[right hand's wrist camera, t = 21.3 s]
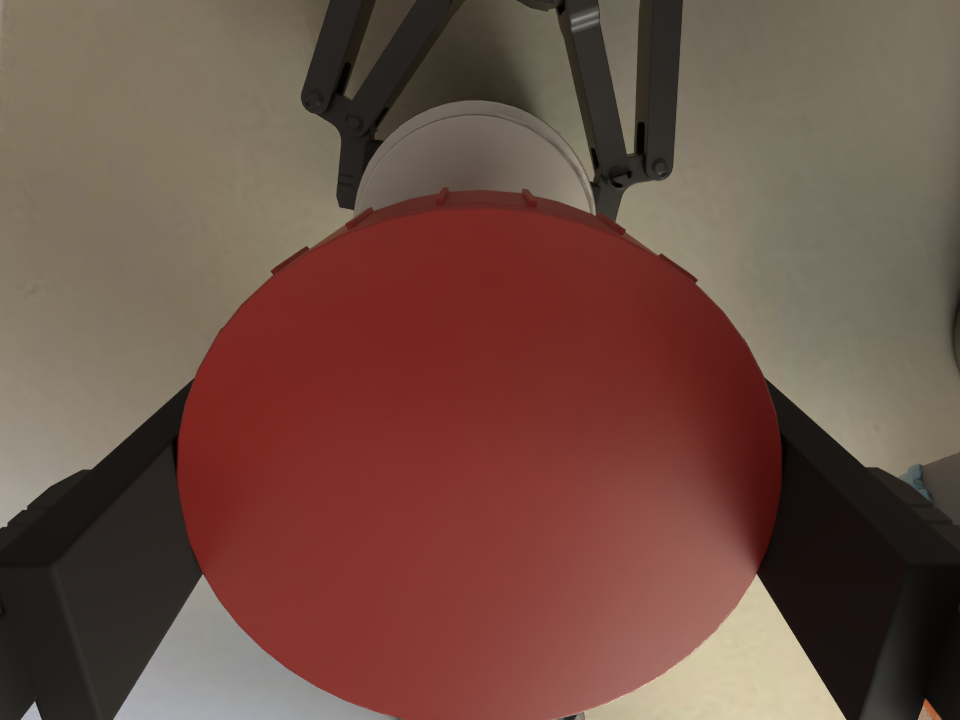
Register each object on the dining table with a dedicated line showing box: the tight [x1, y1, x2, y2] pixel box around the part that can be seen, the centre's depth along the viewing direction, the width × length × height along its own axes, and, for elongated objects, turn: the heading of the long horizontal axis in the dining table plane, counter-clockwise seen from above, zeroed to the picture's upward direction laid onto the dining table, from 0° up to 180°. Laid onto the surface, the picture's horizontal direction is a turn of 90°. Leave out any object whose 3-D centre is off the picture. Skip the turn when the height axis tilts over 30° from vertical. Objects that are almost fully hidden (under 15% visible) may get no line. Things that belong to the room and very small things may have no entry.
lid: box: [176, 187, 782, 720], centre depth 11 cm, size 10×10×2 cm
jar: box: [354, 100, 596, 218], centre depth 28 cm, size 9×9×15 cm
